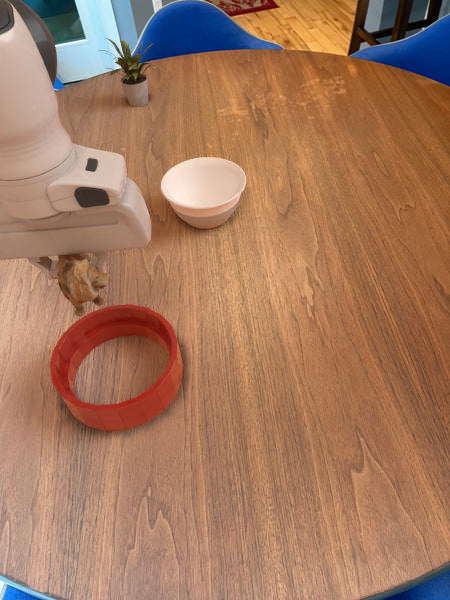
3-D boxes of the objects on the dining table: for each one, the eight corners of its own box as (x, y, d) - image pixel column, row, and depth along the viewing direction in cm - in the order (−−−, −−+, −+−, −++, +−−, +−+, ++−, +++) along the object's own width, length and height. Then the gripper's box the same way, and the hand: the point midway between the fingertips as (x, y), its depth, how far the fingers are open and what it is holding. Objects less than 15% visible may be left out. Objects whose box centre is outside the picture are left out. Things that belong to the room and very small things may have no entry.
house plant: (96, 107, 128) (78, 42, 116) (131, 85, 135) (118, 22, 123) (136, 120, 122) (121, 53, 110) (170, 96, 129) (160, 31, 117)
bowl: (208, 256, 87) (203, 219, 81) (150, 221, 95) (142, 185, 88) (264, 212, 94) (264, 175, 88) (206, 183, 102) (202, 147, 96)
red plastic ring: (54, 437, 66) (37, 414, 61) (75, 334, 77) (62, 308, 72) (182, 428, 65) (175, 405, 60) (184, 326, 77) (178, 300, 72)
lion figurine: (127, 318, 57) (107, 265, 50) (85, 338, 56) (59, 287, 49) (85, 248, 66) (63, 195, 59) (48, 264, 64) (21, 211, 57)
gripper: (-74, 207, 47) (-12, 299, 57) (133, 189, 46) (158, 286, 57) (-52, 170, 51) (2, 262, 61) (138, 153, 51) (160, 250, 61)
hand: (78, 274), depth 59 cm, fingers closed on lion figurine, 4 cm apart
